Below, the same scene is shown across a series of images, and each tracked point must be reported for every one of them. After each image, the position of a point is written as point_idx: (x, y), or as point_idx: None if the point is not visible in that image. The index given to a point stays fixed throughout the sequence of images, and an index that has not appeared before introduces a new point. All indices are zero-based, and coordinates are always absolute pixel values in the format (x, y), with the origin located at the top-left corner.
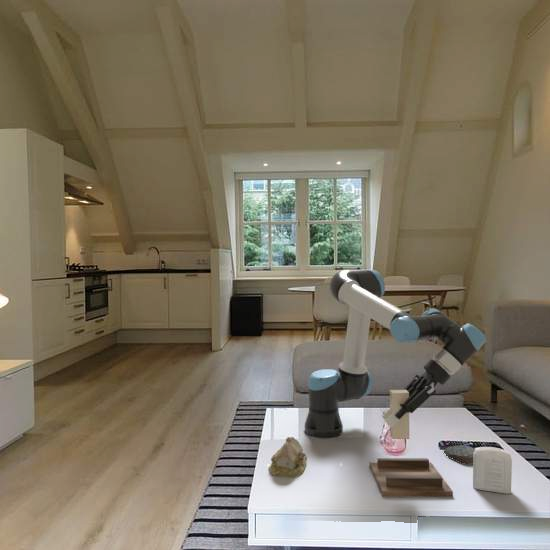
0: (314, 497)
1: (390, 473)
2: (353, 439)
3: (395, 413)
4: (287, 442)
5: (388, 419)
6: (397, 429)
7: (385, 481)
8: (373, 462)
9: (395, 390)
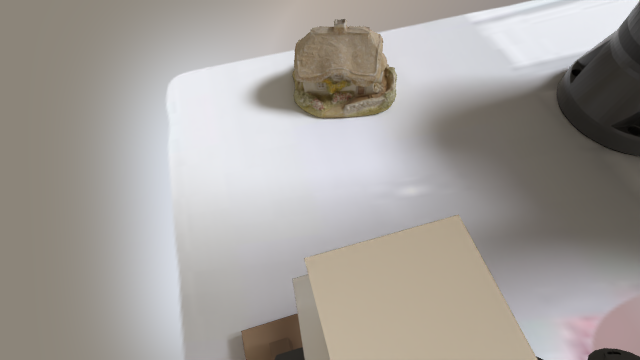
0: (213, 164)
1: None
2: (623, 198)
3: (303, 351)
4: (323, 29)
5: (295, 298)
6: None
7: None
8: None
9: (470, 307)
